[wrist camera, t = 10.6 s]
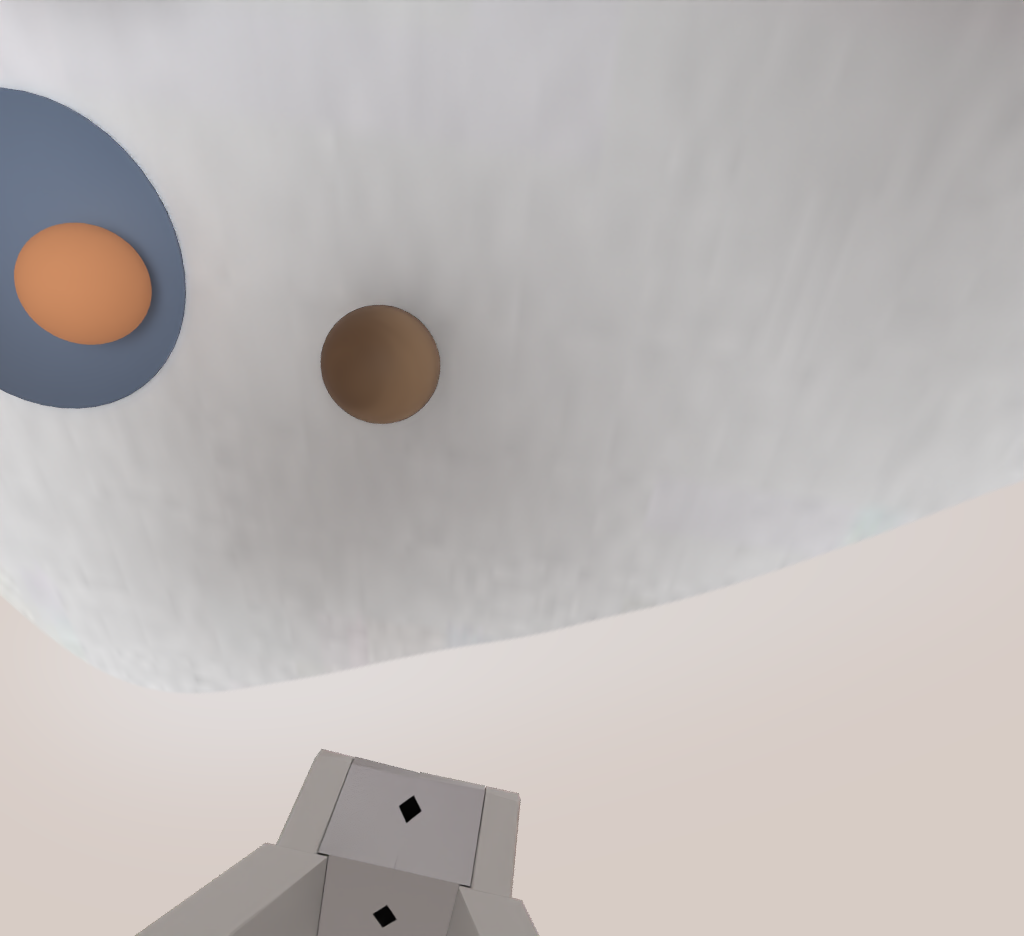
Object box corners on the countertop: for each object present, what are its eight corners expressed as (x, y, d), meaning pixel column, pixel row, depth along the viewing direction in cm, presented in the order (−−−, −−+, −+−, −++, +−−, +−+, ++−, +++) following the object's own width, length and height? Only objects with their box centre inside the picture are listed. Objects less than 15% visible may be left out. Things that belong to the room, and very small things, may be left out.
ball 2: (297, 304, 28) (360, 287, 32) (295, 423, 30) (355, 391, 34) (414, 330, 27) (463, 309, 31) (404, 452, 29) (451, 416, 33)
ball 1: (-22, 211, 27) (70, 206, 32) (-14, 338, 29) (72, 316, 34) (102, 245, 27) (177, 235, 32) (102, 370, 29) (172, 344, 34)
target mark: (188, 127, 30) (186, 127, 30) (183, 434, 35) (181, 435, 35) (-139, 55, 30) (-144, 54, 30) (-93, 373, 36) (-96, 374, 35)
